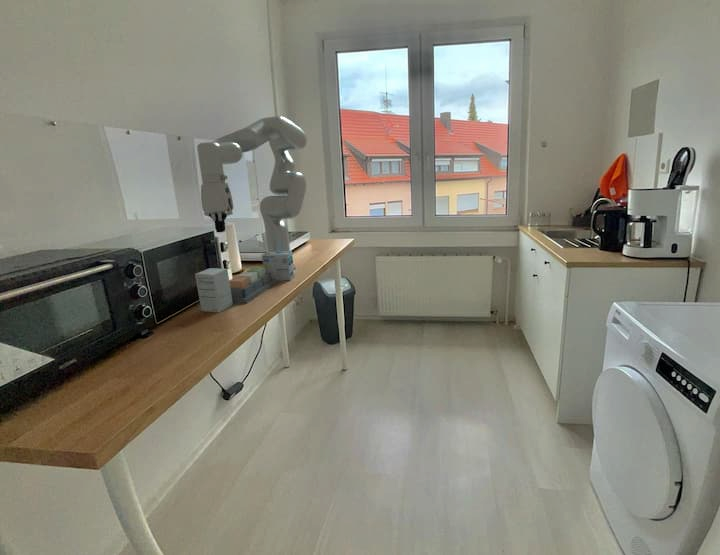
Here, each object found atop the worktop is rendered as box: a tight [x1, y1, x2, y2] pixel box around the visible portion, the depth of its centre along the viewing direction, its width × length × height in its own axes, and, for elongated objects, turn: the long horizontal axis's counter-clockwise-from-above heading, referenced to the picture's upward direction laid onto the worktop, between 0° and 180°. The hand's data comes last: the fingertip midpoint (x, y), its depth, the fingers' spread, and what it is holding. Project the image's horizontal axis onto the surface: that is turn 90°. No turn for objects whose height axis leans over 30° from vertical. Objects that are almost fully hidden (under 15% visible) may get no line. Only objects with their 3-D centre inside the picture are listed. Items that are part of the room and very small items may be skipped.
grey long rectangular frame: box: [230, 273, 277, 304], centre depth 154 cm, size 24×10×4 cm, turn 167°
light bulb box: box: [261, 250, 296, 282], centre depth 169 cm, size 11×7×11 cm, turn 84°
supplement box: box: [194, 267, 234, 313], centre depth 138 cm, size 7×7×13 cm
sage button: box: [246, 267, 266, 278], centre depth 160 cm, size 5×5×4 cm
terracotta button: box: [229, 276, 249, 289], centre depth 147 cm, size 5×5×4 cm
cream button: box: [237, 271, 258, 283], centre depth 153 cm, size 5×5×4 cm
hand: (220, 231), depth 153 cm, fingers closed
